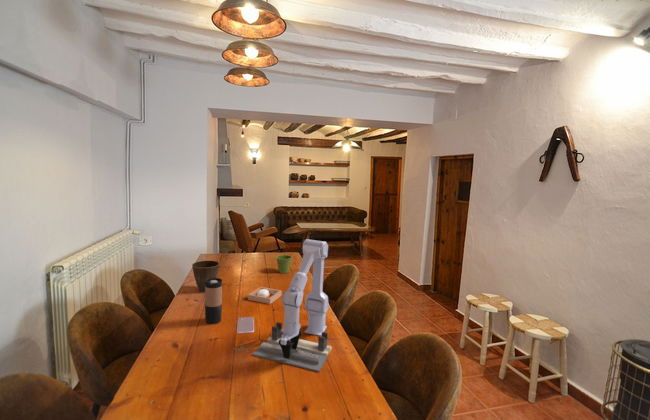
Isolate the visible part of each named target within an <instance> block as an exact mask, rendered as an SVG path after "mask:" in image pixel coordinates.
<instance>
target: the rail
mask: <svg viewBox="0 0 650 420" xmlns="http://www.w3.org/2000/svg"><path fill="white" fill-rule="evenodd" d="M265 342H266V341H263V342H262V343H261V344H260V346H261V350H263V351H267V352H271V353H275V354H280V355H283V352H282V348H281V346H278V345H277V344H276V345H274V344H269V343H265ZM290 357H292V358H296V359H300V360H304V361H308V362H312V363H316V364H319V363H320V361H321V356H320V355H316V354H312V353H311V352H310V353H307V352H303V351H299V350H295V349H291V353H290Z"/></svg>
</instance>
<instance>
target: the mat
mask: <svg viewBox="0 0 650 420" xmlns="http://www.w3.org/2000/svg"><path fill="white" fill-rule="evenodd" d="M264 342H265V343H268V342H267V341H264ZM269 344H272V343H269ZM274 345H277V344H274ZM278 346H280V345H278ZM296 350H298V349H296ZM299 351H302V350H299ZM303 352H306V351H303ZM307 353H311V352H307ZM312 354H315V353H312ZM251 355H252V356H254V357H257V358H262V359H266V360H270V361H272V362H278V363H282V364H285V365H289V366H294V367H298V368H301V369H305V370H309V371H312V372H317V373H320V372H321V370H322V369H323V366H324V365H325V363H326V362H327V360H328V356H323V355H320V356H321V361H320V363H319V364H316V363H312V362H308V361H304V360H300V359H296V358H292V357H289V359H287V358H284V356H283V355H280V354H275V353H271V352H267V351H263V350H261V345H260V346H259V347H258V348H257V349H256V350H254V352H253V353H252V354H251ZM316 355H319V354H316Z"/></svg>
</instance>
